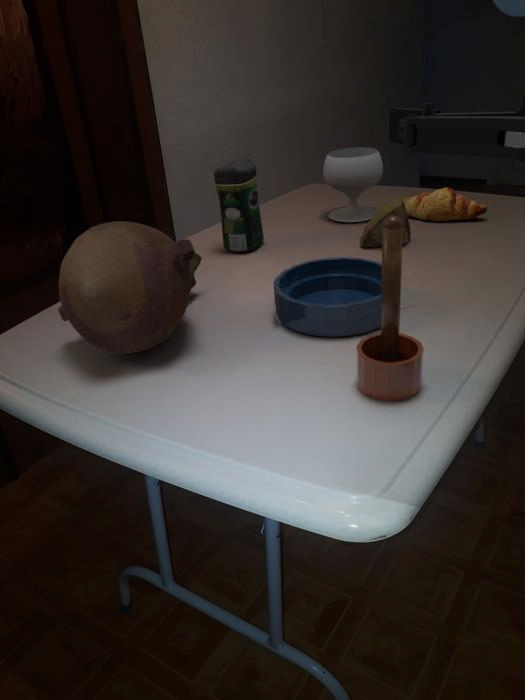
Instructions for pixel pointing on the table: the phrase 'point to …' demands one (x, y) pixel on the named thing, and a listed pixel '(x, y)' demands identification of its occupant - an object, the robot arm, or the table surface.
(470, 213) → the croissant
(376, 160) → the chalice
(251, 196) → the coffee jar
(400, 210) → the rock
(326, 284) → the bowl
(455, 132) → the robot arm
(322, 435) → the table surface
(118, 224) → the jug
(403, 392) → the crock
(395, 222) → the paper towel holder
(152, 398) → the table surface
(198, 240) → the table surface
